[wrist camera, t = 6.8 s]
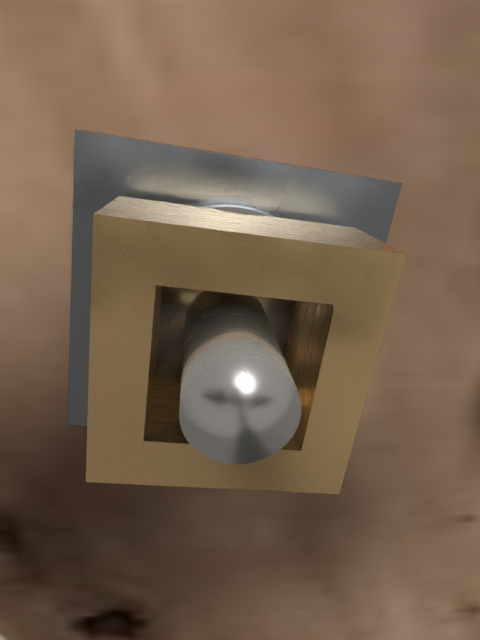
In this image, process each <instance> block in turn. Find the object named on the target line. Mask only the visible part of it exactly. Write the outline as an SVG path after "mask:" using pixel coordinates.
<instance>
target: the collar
mask: <svg viewBox="0 0 480 640" xmlns="http://www.w3.org/2000/svg"><path fill="white" fill-rule="evenodd" d="M405 257H406V254H405V253H403V252H401V251H399V250H397V249H395V248H394V247H392V246H390V245H388V244H386V243H384V242H382V241H380V240H378V239H376V238H374V237H372V236H370V235H369V234H367V233H365V232H363V231H361V230H359V229H357V228H353V227H345V226H338V225H331V224H323V223H316V222H308V221H301V220H294V219H286V218H279V217H271V216H264V215H256V214H249V213H242V212H234V211H227V210H219V209H212V208H205V207H197V206H190V205H182V204H175V203H168V202H160V201H153V200H145V199H138V198H131V197H123V196H119V197H117V198H116V199H114V200H113V201H111V202H110V203H108V204H107V205H106V206H104V207H103V208H101V209H100V210H98V211H97V212H95V213H94V214H93V239H92V275H91V310H90V346H89V382H88V418H87V454H86V482H95V483H115V484H136V485H157V486H178V487H199V488H219V489H240V490H261V491H282V492H302V493H323V494H340V491H341V487H342V483H343V480H344V476H345V473H346V469H347V465H348V462H349V458H350V455H351V451H352V447H353V444H354V440H355V437H356V433H357V430H358V426H359V422H360V419H361V415H362V412H363V408H364V404H365V401H366V397H367V394H368V390H369V387H370V383H371V379H372V376H373V372H374V369H375V365H376V361H377V358H378V354H379V351H380V347H381V344H382V340H383V336H384V333H385V329H386V326H387V322H388V318H389V315H390V311H391V308H392V304H393V300H394V297H395V293H396V290H397V286H398V283H399V279H400V275H401V272H402V268H403V265H404V261H405ZM162 286H167V287H176V288H186V289H195V290H204V291H213V292H222V293H231V294H240V295H250V296H259V297H268V298H277V299H286V300H295V301H296V302H295V307H294V312H293V317H292V322H291V327H290V332H289V337H288V342H287V347H286V352H285V357H284V359H285V361H286V363H287V366H288V368H289V371H290V373H291V375H292V378H293V380H294V383H295V385H296V387H297V390H298V392H299V396H300V399H301V418H300V422H299V425H298V427H297V429H296V432H295V433H294V435H293V436H292V438H291V439H290V440H289V441H288V443H287V444H286V445H285V446H284V447H283V448H281V449H280V450H279V451H277V452H276V453H274V454H273V455H271V456H269V457H267V458H265V459H263V460H260V461H256V462H253V463H248V464H226V463H221V462H217V461H214V460H211V459H209V458H207V457H205V456H203V455H202V454H200V453H199V452H197V451H196V450H195V449H194V448H193V447H192V446H191V445H190V444H189V442H188V441H187V439H186V438H185V436H184V434H183V432H182V429H181V426H180V420H179V408H180V391H181V378H175V377H163V376H155V366H156V355H157V343H158V331H159V320H160V308H161V297H162Z"/></svg>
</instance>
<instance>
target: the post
mask: <svg viewBox="0 0 480 640" xmlns="http://www.w3.org/2000/svg"><path fill="white" fill-rule="evenodd" d="M401 185H402V183H397V182H392V181H386V180H379V179H373V178H367V177H361V176H355V175H349V174H343V173H337V172H331V171H325V170H319V169H313V168H307V167H301V166H295V165H289V164H283V163H277V162H271V161H265V160H259V159H253V158H247V157H241V156H235V155H229V154H222V153H216V152H210V151H204V150H198V149H192V148H186V147H180V146H174V145H168V144H162V143H156V142H150V141H144V140H138V139H132V138H126V137H120V136H114V135H108V134H102V133H96V132H90V131H84V130H76V129H75V160H74V201H73V241H72V282H71V322H70V362H69V403H68V425H75V426H87V418H88V382H89V346H90V310H91V275H92V239H93V214H94V213H95V212H97V211H98V210H100V209H101V208H103V207H104V206H106V205H107V204H108V203H110V202H111V201H113V200H114V199H116V198H117V197H119V196H123V197H131V198H138V199H145V200H153V201H160V202H168V203H175V204H182V205H190V206H197V207H205V208H212V209H219V210H227V211H234V212H242V213H249V214H256V215H264V216H271V217H279V218H286V219H294V220H301V221H308V222H316V223H323V224H331V225H338V226H345V227H353V228H357V229H359V230H361V231H363V232H365V233H367V234H369V235H370V236H372V237H374V238H376V239H378V240H380V241H382V242H384V243H386V240H387V237H388V233H389V229H390V226H391V222H392V218H393V215H394V211H395V207H396V204H397V200H398V196H399V192H400V189H401ZM295 302H296V301H295V300H286V299H277V298H268V297H259V296H250V295H240V294H231V293H222V292H213V291H204V290H195V289H186V288H176V287H167V286H162V297H161V308H160V320H159V331H158V343H157V355H156V366H155V376H163V377H175V378H181V391H180V408H179V420H180V426H181V429H182V432H183V434H184V436H185V438H186V439H187V441H188V442H189V444H190V445H191V446H192V447H193V448H194V449H195V450H196V451H197V452H199V453H200V454H202V455H203V456H205V457H207V458H209V459H211V460H214V461H217V462H221V463H226V464H248V463H253V462H256V461H260V460H263V459H265V458H267V457H269V456H271V455H273V454H274V453H276V452H277V451H279V450H280V449H281V448H283V447H284V446H285V445H286V444H287V443H288V441H289V440H290V439H291V438H292V436H293V435H294V433H295V432H296V429H297V427H298V425H299V422H300V418H301V399H300V396H299V392H298V390H297V387H296V385H295V383H294V380H293V378H292V375H291V373H290V371H289V368H288V366H287V363H286V361H285V359H284V357H285V352H286V347H287V342H288V337H289V332H290V327H291V322H292V317H293V312H294V307H295Z"/></svg>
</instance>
